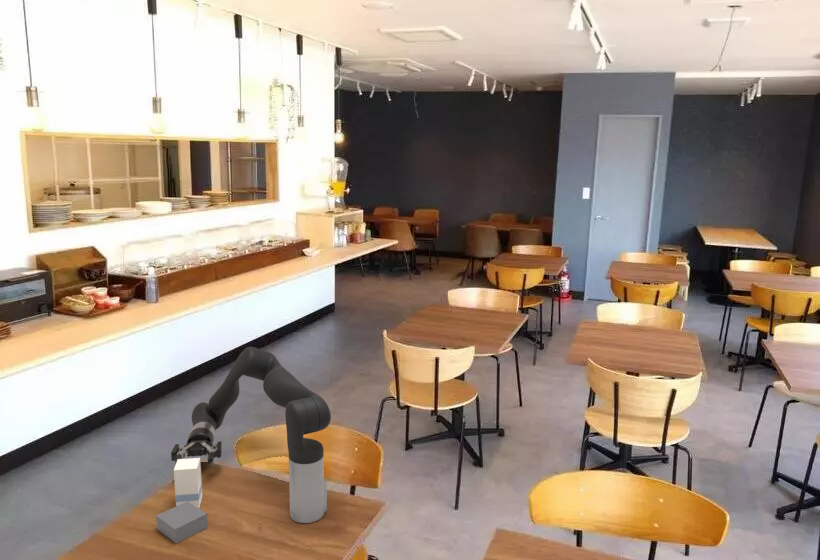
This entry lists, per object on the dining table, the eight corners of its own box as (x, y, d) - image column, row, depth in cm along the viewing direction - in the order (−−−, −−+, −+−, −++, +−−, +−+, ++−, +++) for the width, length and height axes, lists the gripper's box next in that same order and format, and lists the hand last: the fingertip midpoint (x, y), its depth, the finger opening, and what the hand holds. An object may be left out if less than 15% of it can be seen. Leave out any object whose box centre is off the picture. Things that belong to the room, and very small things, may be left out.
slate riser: (188, 514, 171) (187, 501, 170) (207, 527, 166) (206, 513, 165) (157, 529, 164) (156, 515, 164) (175, 543, 159) (174, 529, 158)
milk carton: (180, 498, 179) (177, 459, 176) (202, 496, 180) (200, 457, 177) (176, 510, 173) (173, 470, 170) (199, 508, 174) (197, 468, 172)
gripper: (177, 428, 198) (167, 452, 182) (224, 425, 200) (218, 449, 185) (178, 450, 199) (168, 476, 184) (225, 447, 202) (219, 472, 186)
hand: (193, 463), depth 184 cm, fingers open, 8 cm apart
